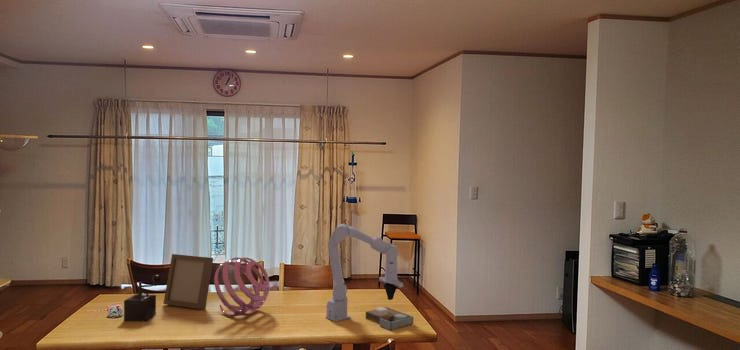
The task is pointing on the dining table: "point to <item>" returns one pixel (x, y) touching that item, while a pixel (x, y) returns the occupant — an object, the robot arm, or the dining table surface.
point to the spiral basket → (243, 286)
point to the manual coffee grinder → (141, 304)
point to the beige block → (380, 311)
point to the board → (389, 317)
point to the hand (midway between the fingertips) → (390, 299)
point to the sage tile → (399, 317)
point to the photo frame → (188, 281)
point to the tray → (396, 323)
